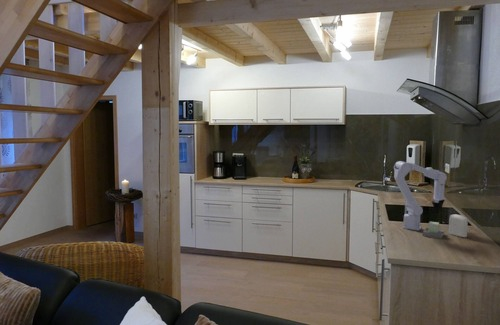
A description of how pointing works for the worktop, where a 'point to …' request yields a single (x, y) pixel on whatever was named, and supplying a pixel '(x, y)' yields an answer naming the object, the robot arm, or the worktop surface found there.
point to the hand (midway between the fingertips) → (437, 211)
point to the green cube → (433, 227)
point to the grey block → (433, 234)
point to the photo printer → (458, 225)
